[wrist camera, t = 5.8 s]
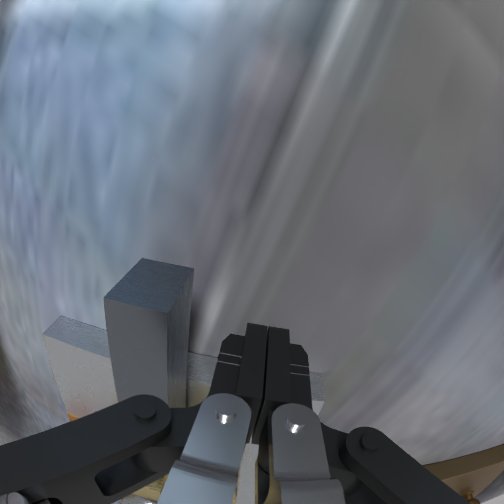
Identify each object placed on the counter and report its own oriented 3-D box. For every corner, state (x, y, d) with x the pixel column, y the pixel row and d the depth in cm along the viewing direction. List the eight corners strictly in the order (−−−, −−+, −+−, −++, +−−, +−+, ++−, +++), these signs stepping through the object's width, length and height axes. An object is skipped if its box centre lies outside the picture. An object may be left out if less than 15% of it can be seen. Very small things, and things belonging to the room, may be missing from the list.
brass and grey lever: (232, 496, 18) (223, 549, 13) (115, 466, 18) (94, 513, 13) (292, 286, 11) (297, 384, 7) (66, 242, 11) (-14, 297, 7)
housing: (321, 374, 15) (324, 402, 13) (266, 489, 21) (265, 509, 19) (60, 315, 16) (41, 334, 14) (98, 449, 21) (90, 466, 19)
